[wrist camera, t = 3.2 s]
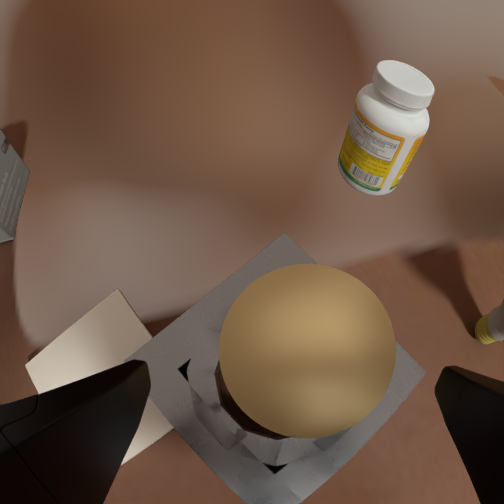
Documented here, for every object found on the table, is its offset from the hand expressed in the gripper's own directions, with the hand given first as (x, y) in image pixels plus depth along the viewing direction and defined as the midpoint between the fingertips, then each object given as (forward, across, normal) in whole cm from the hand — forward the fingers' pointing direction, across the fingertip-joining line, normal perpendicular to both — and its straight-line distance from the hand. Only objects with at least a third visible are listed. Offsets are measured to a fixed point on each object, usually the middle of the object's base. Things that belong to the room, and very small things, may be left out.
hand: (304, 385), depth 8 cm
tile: (+6, -10, -8) cm, 14 cm away
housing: (+7, 0, -6) cm, 10 cm away
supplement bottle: (+19, +7, +5) cm, 21 cm away
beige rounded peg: (+7, 0, -6) cm, 10 cm away
